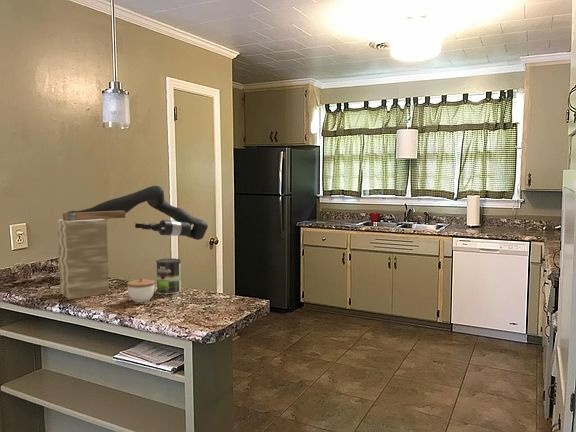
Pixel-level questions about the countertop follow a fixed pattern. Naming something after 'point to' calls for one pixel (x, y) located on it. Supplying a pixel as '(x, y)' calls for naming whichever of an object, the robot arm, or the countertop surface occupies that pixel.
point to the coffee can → (168, 276)
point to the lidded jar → (141, 290)
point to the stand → (83, 257)
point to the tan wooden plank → (93, 215)
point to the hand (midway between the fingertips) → (138, 226)
